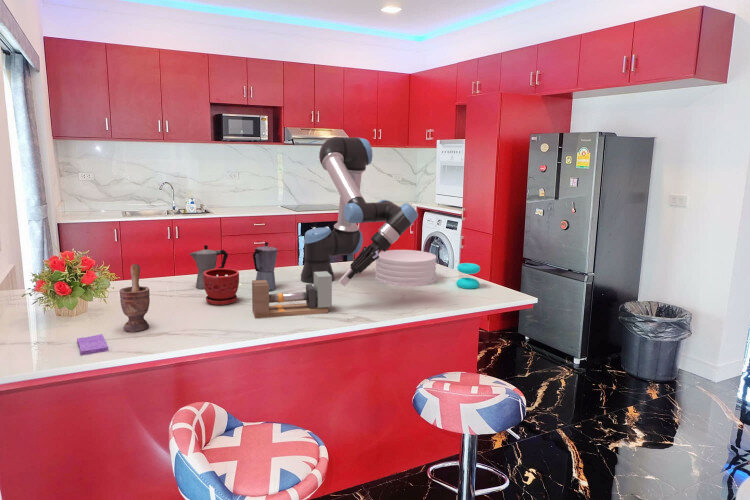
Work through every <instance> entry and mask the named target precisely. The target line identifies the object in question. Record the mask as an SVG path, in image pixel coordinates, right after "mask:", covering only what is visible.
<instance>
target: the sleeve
mask: <svg viewBox="0 0 750 500" xmlns="http://www.w3.org/2000/svg"><path fill="white" fill-rule="evenodd" d="M313 287H314V288H315V291H317V300H315V304H316V306H317V307H318V308H322V307H327V308H331V307H333V306H332V305H333V303H332V302H333V291H332V290H333V281H332V276H331V275H330V274H329V273H328V272H327V271H323V272H314V283H313Z"/></svg>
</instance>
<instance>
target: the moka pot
mask: <svg viewBox="0 0 750 500" xmlns="http://www.w3.org/2000/svg"><path fill="white" fill-rule="evenodd" d="M278 249H279V248H276V247H274V246H269V242H267V241H266V242H264V245H263V246H258V247H256V248H254V252H253V253H252V258H253V265H254V269H255V272H256V278H255V280H266V281H267V283H268V284H269V292H271V291H274V290H276V288H277V287H276V279H275V278H276V277H275V267H276V263H277V257H278Z"/></svg>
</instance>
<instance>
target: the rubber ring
mask: <svg viewBox="0 0 750 500" xmlns="http://www.w3.org/2000/svg"><path fill="white" fill-rule="evenodd" d="M305 292H309V300H305V303H307V305H308V306H309V308H315V288H314V285H313V283H309V284H305Z"/></svg>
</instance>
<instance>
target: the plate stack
mask: <svg viewBox="0 0 750 500" xmlns="http://www.w3.org/2000/svg"><path fill="white" fill-rule="evenodd" d="M378 256H379V258H378V259H376V260H375V278H374V279H375V281H377V282H378V283H381V284H385V285H388V286H394V287H423V286H430V285H432V284H434V283H435V282H436V276H437V275H436V274H437V273H436V271H437V255H436V254H434V253H431V252H428V251H427V252H426V251H422V250H414V249H413V250H412V249H389V250H387V251H385V252H384V251H382V250H381V251H380V253H379V254H378Z"/></svg>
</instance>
